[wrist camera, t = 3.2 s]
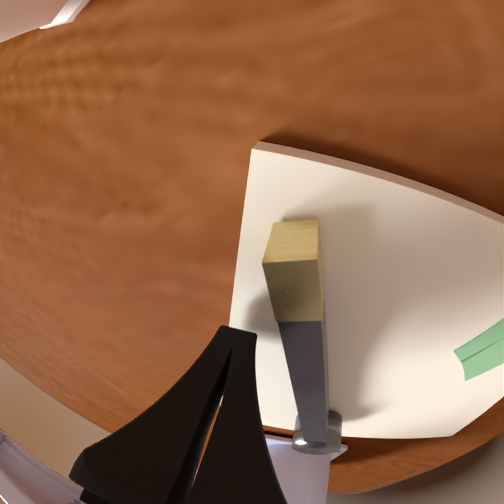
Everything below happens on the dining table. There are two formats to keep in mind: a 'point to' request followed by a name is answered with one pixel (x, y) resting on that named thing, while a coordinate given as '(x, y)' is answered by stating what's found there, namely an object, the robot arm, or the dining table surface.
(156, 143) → the dining table surface
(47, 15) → the cup
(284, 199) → the board
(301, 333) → the lever
